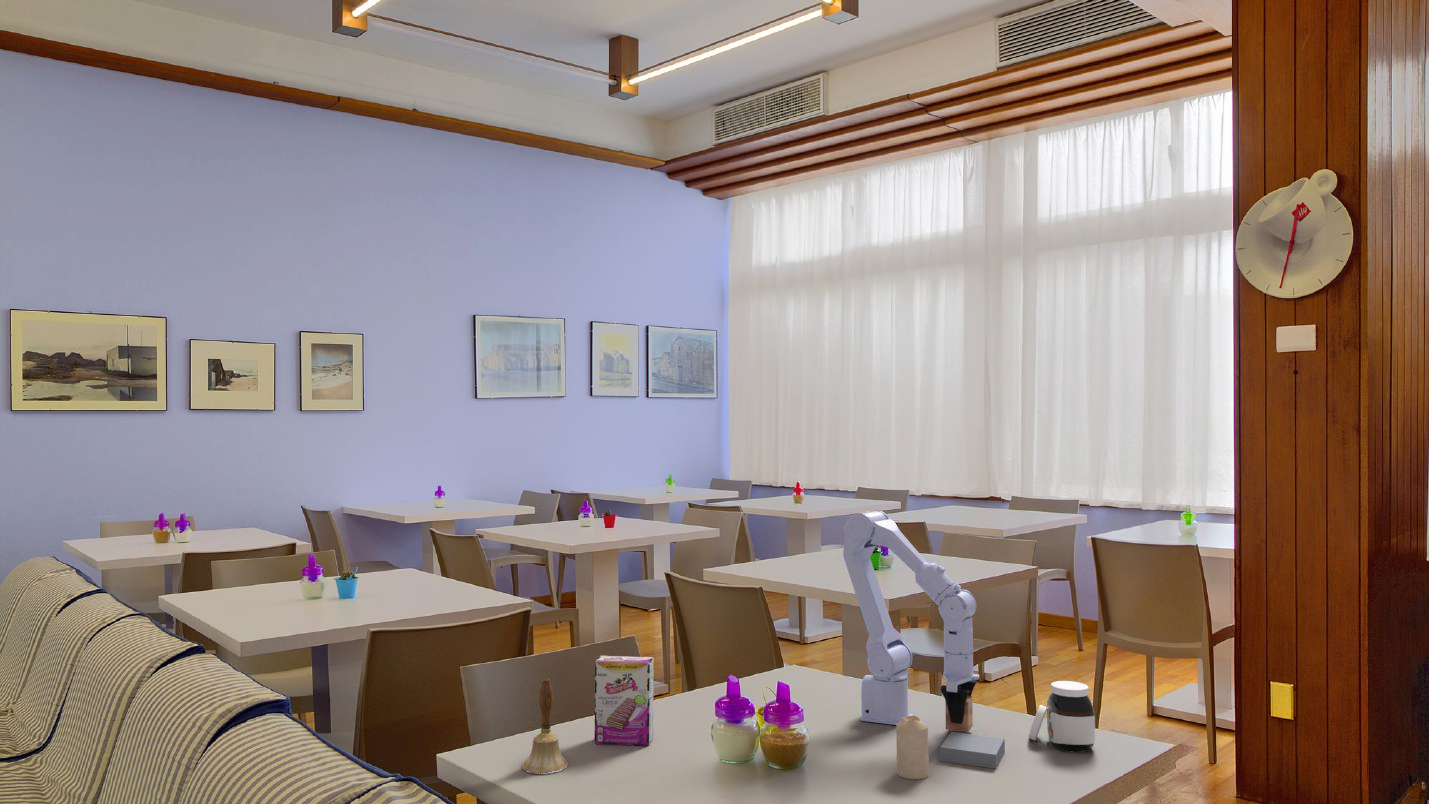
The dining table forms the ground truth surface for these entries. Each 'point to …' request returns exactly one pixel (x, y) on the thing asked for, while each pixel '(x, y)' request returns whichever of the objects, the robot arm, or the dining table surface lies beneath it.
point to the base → (972, 749)
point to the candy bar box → (624, 700)
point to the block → (967, 718)
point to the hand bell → (545, 739)
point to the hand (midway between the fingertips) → (959, 719)
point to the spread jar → (1067, 717)
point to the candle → (912, 748)
